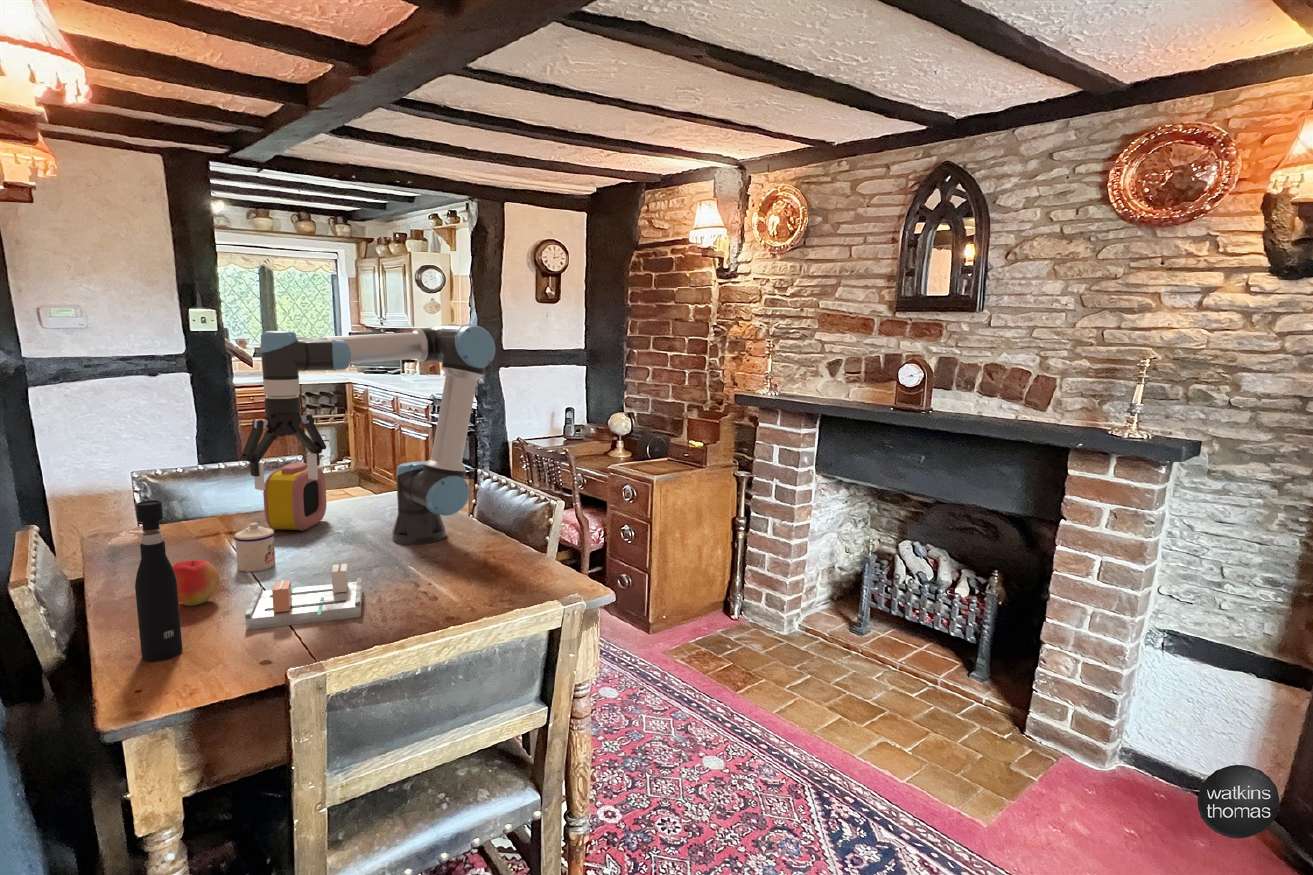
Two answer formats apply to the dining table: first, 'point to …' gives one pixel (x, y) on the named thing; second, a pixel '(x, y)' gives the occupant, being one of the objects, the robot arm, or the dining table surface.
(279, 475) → the alarm clock
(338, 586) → the fader
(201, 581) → the apple
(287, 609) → the fader
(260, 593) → the console
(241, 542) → the teacup with lid
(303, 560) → the dining table surface
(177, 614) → the black water bottle
